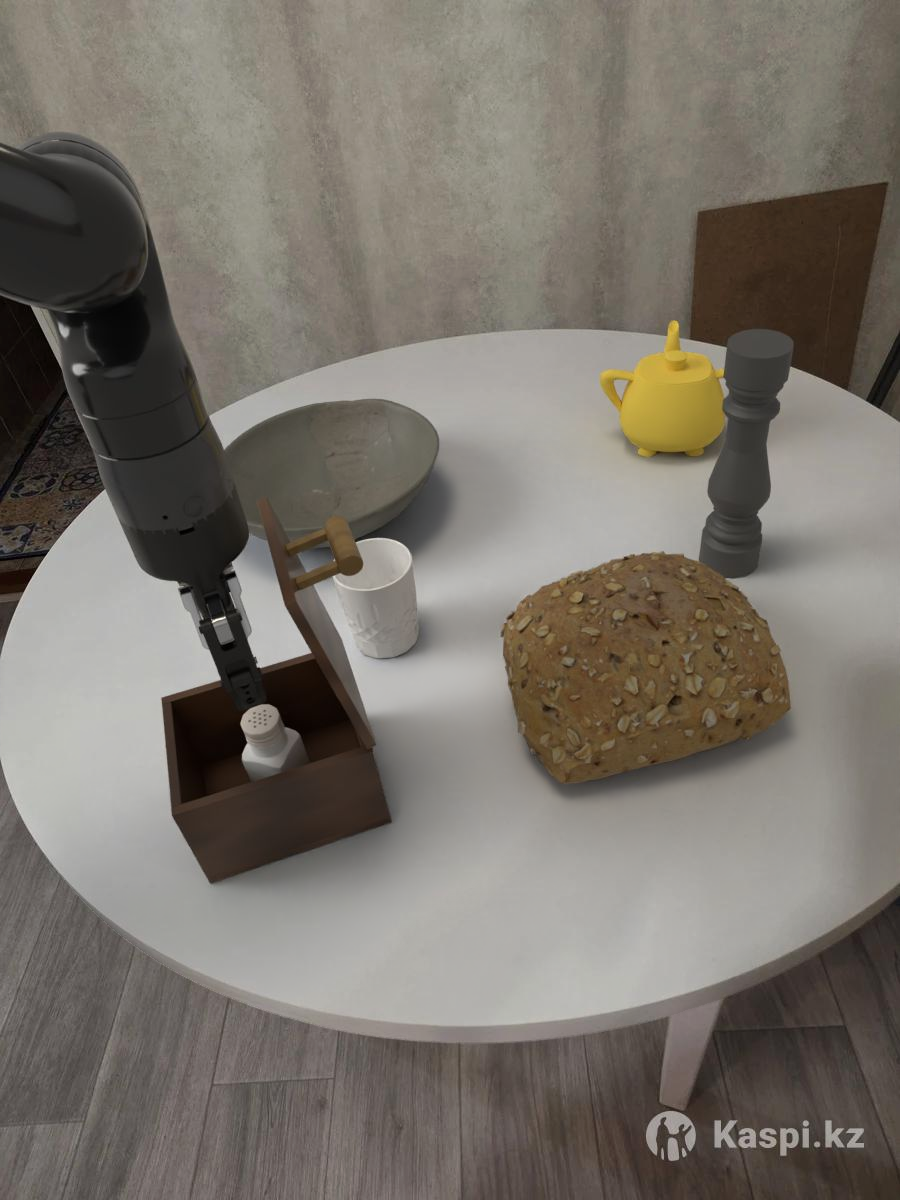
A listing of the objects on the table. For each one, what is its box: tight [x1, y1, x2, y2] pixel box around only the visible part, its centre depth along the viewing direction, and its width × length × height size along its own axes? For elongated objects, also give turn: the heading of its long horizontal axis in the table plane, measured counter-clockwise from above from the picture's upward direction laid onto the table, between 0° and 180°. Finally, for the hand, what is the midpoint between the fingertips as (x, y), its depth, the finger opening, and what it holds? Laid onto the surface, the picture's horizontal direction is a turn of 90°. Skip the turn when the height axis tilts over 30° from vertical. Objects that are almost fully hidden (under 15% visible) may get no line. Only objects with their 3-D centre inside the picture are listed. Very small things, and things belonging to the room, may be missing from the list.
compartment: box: [160, 652, 393, 884], centre depth 73 cm, size 16×13×10 cm
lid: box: [257, 497, 377, 749], centre depth 65 cm, size 16×13×6 cm
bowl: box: [224, 398, 440, 549], centre depth 105 cm, size 27×28×8 cm
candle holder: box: [698, 328, 795, 579], centre depth 85 cm, size 6×6×25 cm
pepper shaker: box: [240, 704, 310, 782], centre depth 73 cm, size 4×4×10 cm
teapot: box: [599, 319, 729, 458], centre depth 108 cm, size 14×14×12 cm
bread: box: [500, 550, 792, 784], centre depth 77 cm, size 24×21×12 cm
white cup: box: [332, 537, 420, 660], centre depth 87 cm, size 8×8×10 cm
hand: (239, 666), depth 65 cm, fingers open, 8 cm apart
